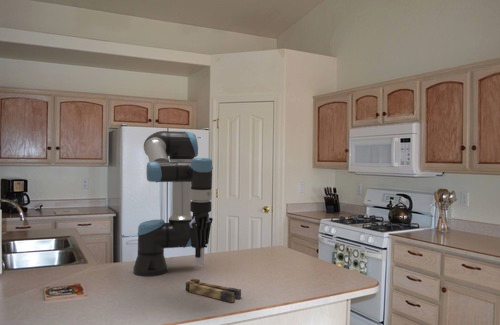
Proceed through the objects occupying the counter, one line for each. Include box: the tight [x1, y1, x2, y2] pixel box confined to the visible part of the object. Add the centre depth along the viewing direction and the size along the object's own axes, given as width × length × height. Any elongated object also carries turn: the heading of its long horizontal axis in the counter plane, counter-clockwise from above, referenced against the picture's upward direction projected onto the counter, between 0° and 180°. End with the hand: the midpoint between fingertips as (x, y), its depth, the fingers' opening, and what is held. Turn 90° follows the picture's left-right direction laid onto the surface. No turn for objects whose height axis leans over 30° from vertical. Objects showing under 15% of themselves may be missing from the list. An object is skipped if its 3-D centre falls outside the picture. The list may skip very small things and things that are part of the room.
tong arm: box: [185, 279, 236, 303], centre depth 151 cm, size 22×2×4 cm, turn 58°
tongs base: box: [185, 278, 242, 300], centre depth 154 cm, size 23×4×4 cm, turn 63°
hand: (199, 265), depth 144 cm, fingers closed
